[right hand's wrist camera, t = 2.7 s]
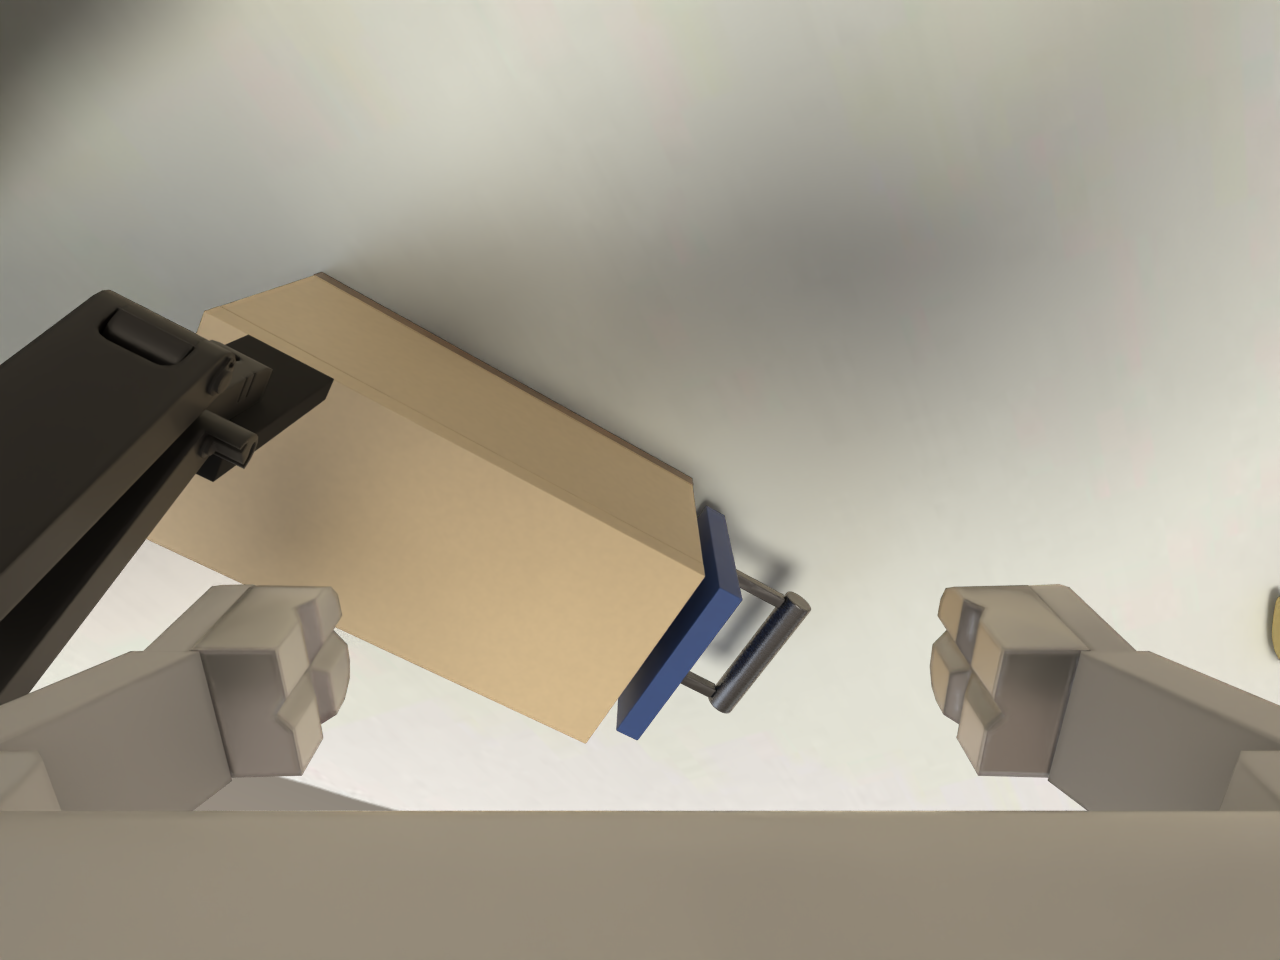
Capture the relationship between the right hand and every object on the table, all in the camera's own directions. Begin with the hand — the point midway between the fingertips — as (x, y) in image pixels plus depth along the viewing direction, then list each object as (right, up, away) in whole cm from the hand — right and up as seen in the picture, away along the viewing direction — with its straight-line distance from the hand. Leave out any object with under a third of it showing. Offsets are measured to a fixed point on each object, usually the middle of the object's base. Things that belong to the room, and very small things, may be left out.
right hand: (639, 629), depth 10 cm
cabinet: (-9, +3, +31) cm, 32 cm away
